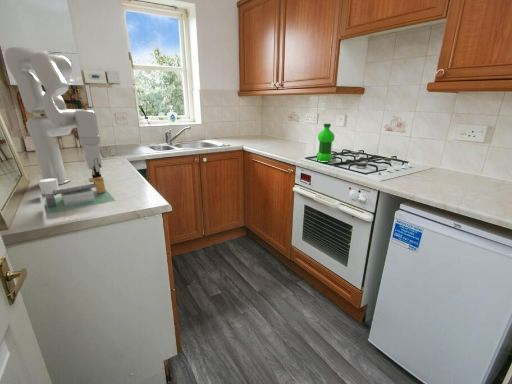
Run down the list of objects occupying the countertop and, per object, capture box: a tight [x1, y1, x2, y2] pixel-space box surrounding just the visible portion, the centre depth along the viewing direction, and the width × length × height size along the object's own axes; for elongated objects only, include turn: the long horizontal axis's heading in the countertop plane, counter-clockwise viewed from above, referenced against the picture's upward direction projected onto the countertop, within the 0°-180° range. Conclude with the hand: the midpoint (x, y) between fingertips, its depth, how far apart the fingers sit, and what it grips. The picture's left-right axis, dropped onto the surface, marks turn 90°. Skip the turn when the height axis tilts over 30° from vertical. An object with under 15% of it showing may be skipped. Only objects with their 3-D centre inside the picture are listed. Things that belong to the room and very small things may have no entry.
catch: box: [88, 176, 106, 193], centre depth 118 cm, size 3×5×6 cm, turn 128°
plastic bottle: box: [316, 123, 335, 162], centre depth 182 cm, size 10×10×25 cm
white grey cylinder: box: [37, 178, 60, 195], centre depth 119 cm, size 7×7×7 cm
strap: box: [52, 183, 97, 196], centre depth 109 cm, size 15×4×1 cm, turn 128°
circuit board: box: [44, 188, 116, 215], centre depth 111 cm, size 18×22×2 cm
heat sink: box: [44, 188, 95, 208], centre depth 108 cm, size 10×15×4 cm, turn 128°
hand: (98, 183), depth 122 cm, fingers closed
